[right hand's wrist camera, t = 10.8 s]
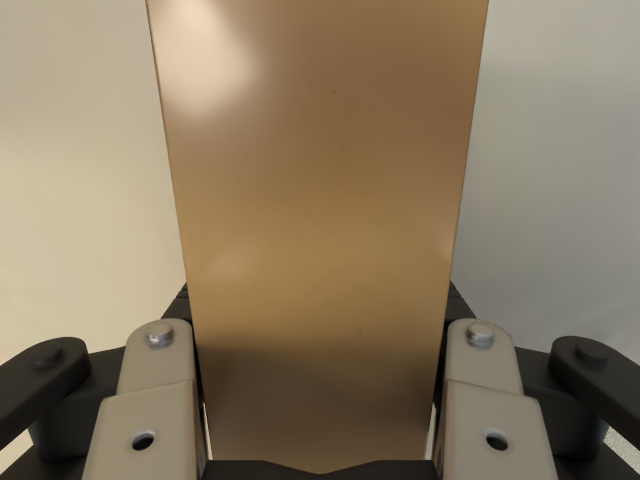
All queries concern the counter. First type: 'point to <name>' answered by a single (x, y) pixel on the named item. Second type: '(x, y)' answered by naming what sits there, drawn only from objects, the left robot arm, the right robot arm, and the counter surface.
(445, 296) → the post
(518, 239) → the counter surface
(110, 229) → the counter surface
